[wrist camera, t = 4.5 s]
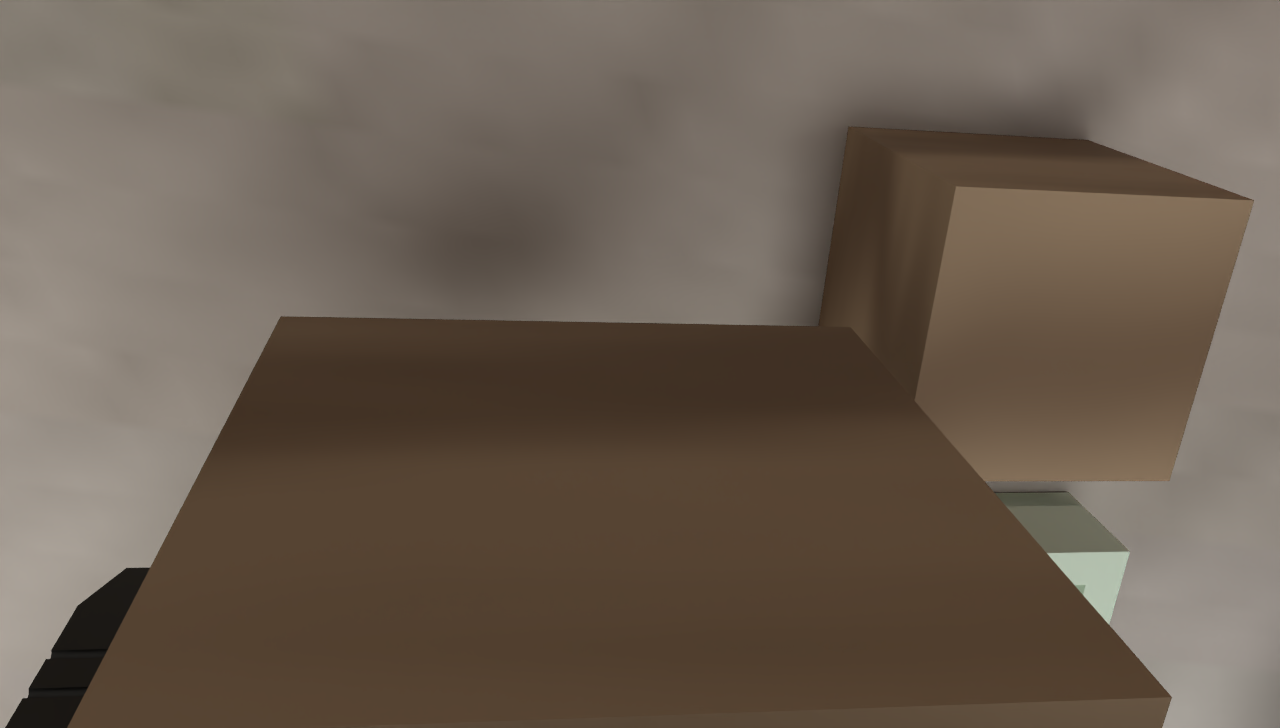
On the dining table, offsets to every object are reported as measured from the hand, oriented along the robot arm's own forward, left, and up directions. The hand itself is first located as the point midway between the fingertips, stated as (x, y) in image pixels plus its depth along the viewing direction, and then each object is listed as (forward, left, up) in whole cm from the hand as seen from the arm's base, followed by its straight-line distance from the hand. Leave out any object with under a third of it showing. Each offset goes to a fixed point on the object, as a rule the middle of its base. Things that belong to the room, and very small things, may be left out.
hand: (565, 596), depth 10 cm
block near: (0, 0, -1) cm, 1 cm away
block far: (0, +9, -12) cm, 15 cm away
